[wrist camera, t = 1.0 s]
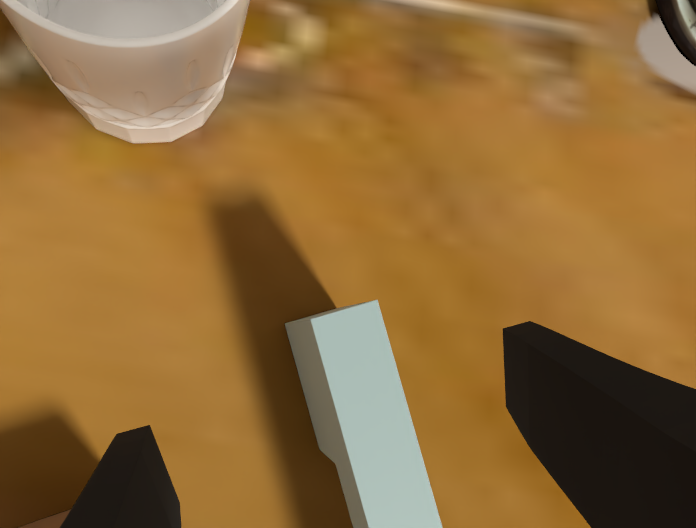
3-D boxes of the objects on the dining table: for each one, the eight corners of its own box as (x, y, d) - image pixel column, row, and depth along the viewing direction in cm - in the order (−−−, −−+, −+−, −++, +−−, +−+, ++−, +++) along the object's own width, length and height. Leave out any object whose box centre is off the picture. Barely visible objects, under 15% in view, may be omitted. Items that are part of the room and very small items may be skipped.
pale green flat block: (439, 672, 25) (512, 771, 19) (388, 697, 25) (447, 807, 19) (337, 308, 26) (377, 299, 20) (284, 323, 25) (310, 319, 20)
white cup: (10, 113, 24) (-115, -39, 14) (88, -51, 25) (22, -289, 16) (202, 186, 25) (205, 94, 16) (264, 27, 27) (303, -146, 17)
